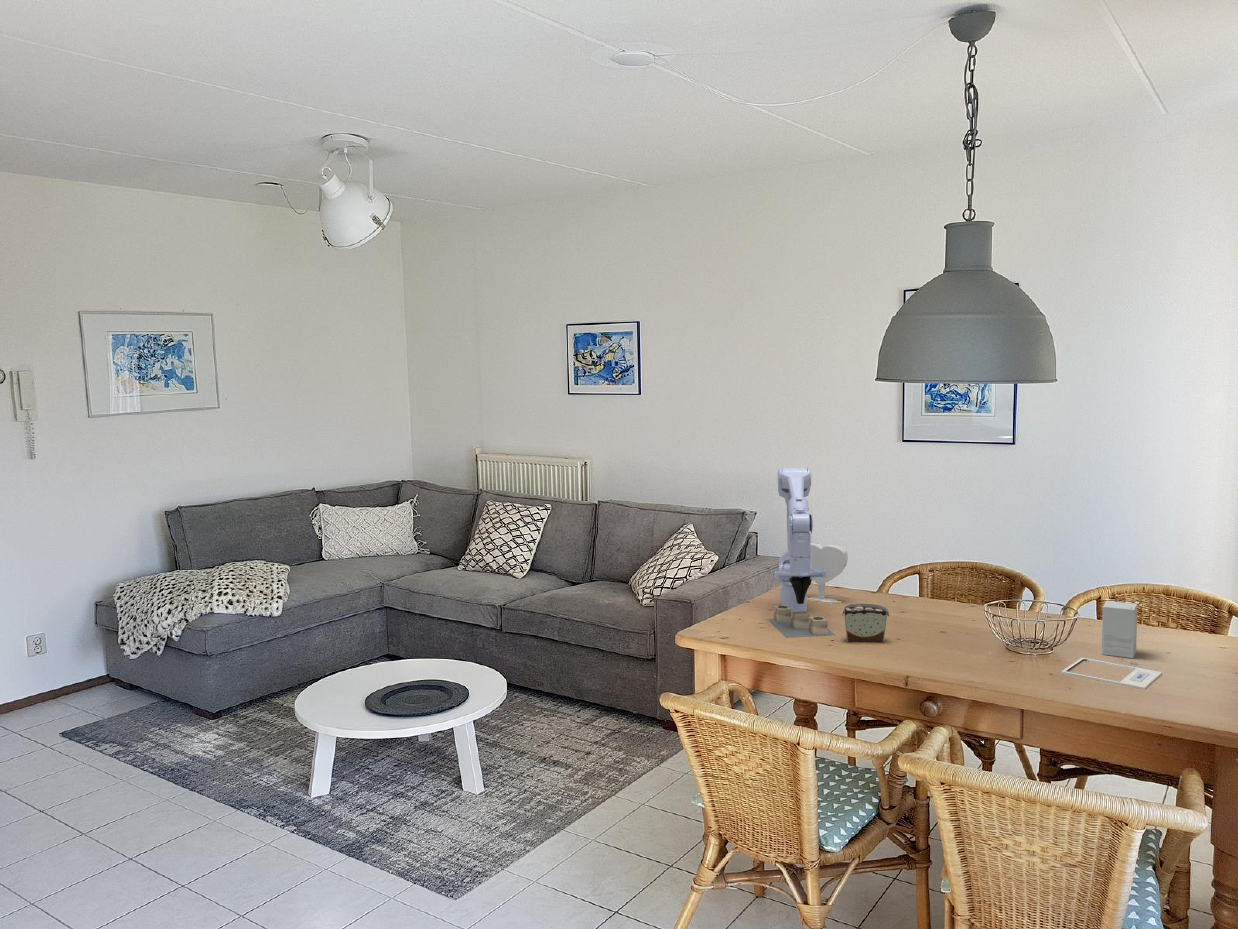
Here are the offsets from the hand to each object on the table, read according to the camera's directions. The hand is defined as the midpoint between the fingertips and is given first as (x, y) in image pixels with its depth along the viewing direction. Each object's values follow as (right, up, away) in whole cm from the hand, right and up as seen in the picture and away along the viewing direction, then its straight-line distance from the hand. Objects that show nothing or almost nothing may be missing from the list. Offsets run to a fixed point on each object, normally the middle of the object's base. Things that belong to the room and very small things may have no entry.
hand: (800, 603), depth 269 cm
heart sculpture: (+13, -4, +34) cm, 37 cm away
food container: (+15, -9, -13) cm, 21 cm away
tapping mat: (0, -8, +1) cm, 8 cm away
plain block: (0, -7, +1) cm, 7 cm away
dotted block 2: (+4, -7, -6) cm, 10 cm away
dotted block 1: (-4, -6, +7) cm, 10 cm away
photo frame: (+66, -11, -42) cm, 79 cm away
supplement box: (+77, -9, -26) cm, 81 cm away
